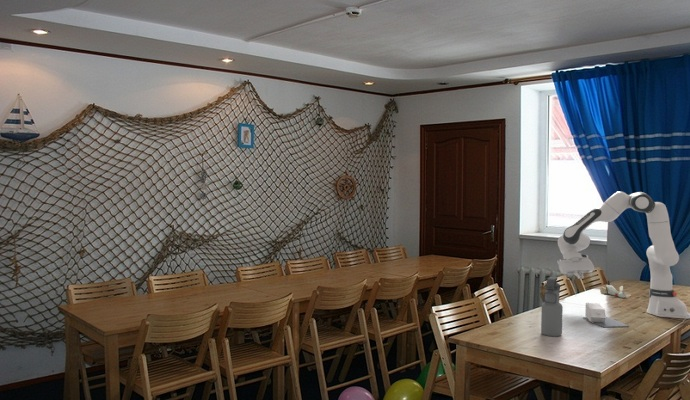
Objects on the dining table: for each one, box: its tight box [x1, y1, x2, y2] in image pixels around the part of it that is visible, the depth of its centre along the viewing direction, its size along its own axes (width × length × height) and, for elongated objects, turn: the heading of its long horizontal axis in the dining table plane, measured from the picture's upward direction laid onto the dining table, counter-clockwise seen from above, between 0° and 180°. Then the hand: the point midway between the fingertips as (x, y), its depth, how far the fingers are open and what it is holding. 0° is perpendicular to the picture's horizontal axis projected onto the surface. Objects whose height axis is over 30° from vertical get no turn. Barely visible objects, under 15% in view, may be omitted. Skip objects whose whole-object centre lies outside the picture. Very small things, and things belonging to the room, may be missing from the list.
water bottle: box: [540, 276, 564, 337], centre depth 295 cm, size 10×10×28 cm
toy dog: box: [599, 280, 631, 299], centre depth 396 cm, size 12×19×9 cm, turn 37°
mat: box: [582, 316, 630, 329], centre depth 321 cm, size 20×14×1 cm
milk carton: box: [584, 302, 607, 323], centre depth 324 cm, size 7×7×19 cm
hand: (581, 278), depth 345 cm, fingers closed
